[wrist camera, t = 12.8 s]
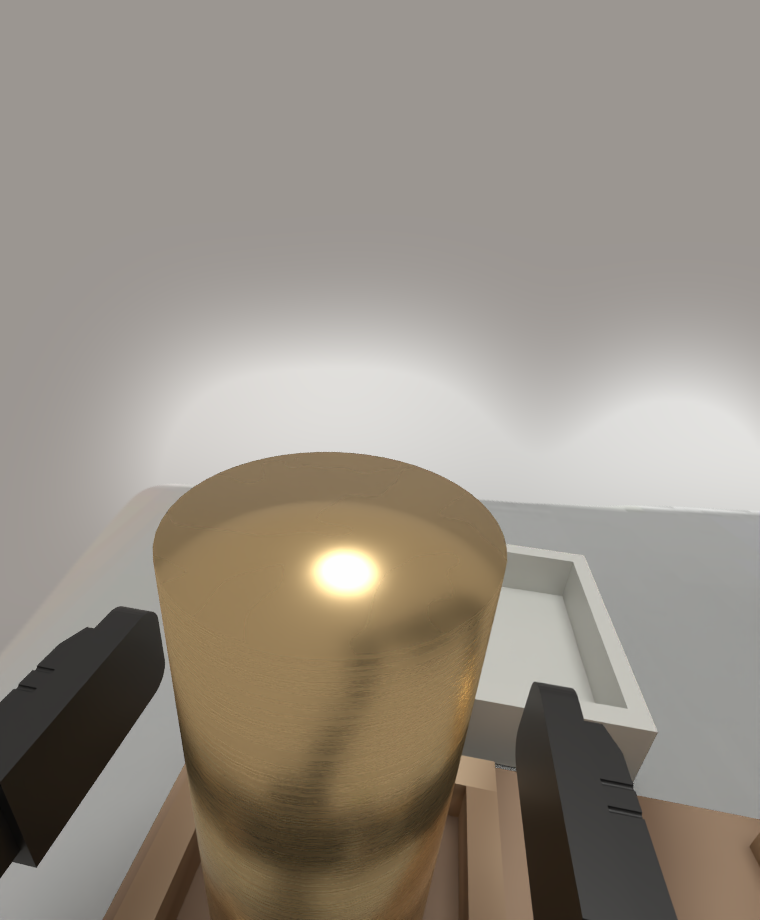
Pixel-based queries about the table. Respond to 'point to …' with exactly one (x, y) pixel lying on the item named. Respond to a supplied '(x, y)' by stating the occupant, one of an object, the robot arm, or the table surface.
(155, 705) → the table surface
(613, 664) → the tray
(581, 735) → the robot arm
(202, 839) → the cylinder
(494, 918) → the wooden double holder
